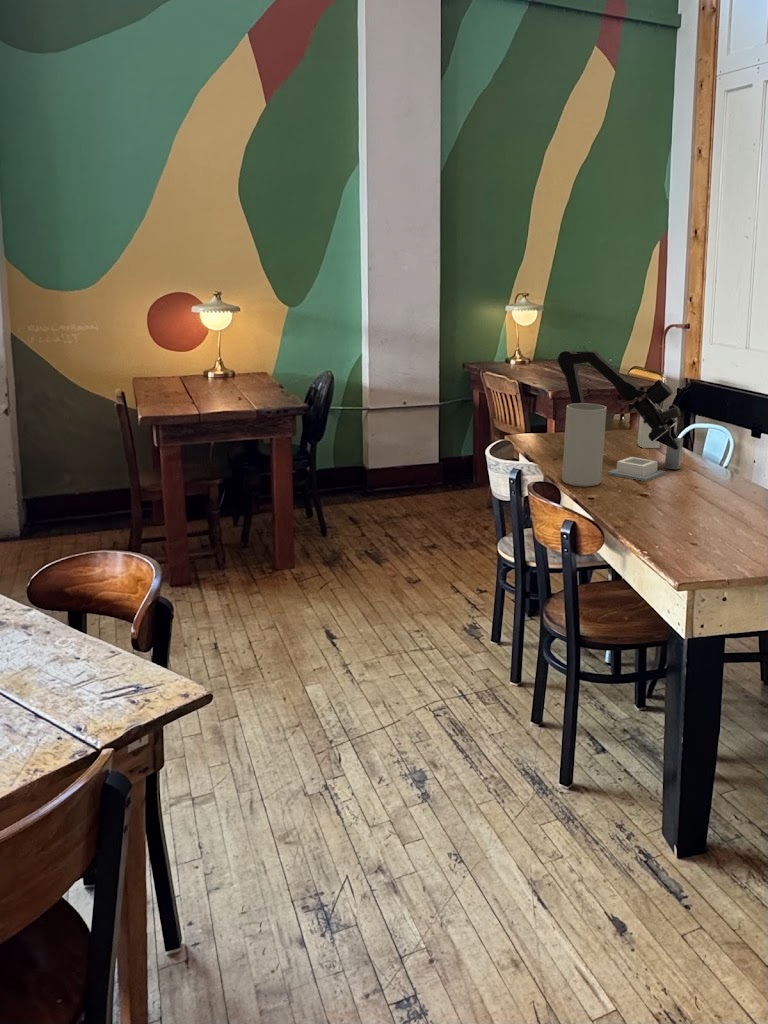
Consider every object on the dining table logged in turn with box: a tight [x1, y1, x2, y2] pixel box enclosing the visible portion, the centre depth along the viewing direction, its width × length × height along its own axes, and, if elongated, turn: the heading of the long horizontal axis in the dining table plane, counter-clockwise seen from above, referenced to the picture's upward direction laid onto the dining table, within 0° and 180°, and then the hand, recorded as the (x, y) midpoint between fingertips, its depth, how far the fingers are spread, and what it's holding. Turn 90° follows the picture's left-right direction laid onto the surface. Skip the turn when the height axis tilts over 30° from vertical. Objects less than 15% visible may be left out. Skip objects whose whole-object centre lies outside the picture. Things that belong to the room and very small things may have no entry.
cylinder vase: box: [561, 402, 608, 488], centre depth 286 cm, size 12×12×25 cm
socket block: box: [607, 456, 666, 482], centre depth 299 cm, size 14×14×4 cm
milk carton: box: [636, 402, 664, 449], centre depth 338 cm, size 7×7×19 cm
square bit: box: [664, 437, 684, 470], centre depth 305 cm, size 4×4×10 cm
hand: (678, 447), depth 304 cm, fingers closed on square bit, 4 cm apart
